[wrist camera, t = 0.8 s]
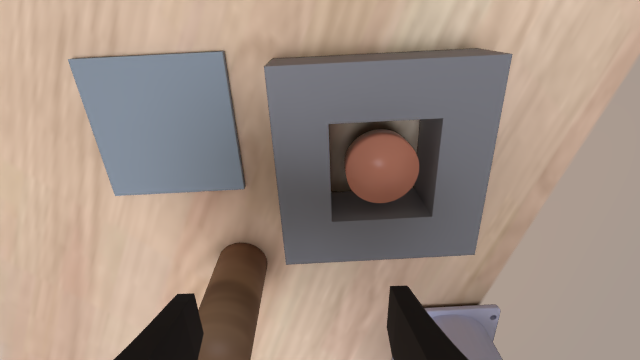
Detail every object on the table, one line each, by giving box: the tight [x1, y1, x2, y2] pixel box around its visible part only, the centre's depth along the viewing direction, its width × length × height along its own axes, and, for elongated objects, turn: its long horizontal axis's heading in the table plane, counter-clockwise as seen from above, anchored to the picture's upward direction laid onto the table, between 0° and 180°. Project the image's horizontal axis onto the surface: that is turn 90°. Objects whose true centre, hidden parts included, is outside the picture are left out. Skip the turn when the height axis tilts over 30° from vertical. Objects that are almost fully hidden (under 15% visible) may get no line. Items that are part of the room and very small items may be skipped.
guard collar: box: [264, 48, 512, 265], centre depth 19 cm, size 11×11×4 cm
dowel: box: [198, 243, 267, 360], centre depth 20 cm, size 3×3×8 cm
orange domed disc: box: [344, 129, 419, 203], centre depth 18 cm, size 4×4×1 cm
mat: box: [68, 51, 245, 196], centre depth 19 cm, size 8×8×1 cm
